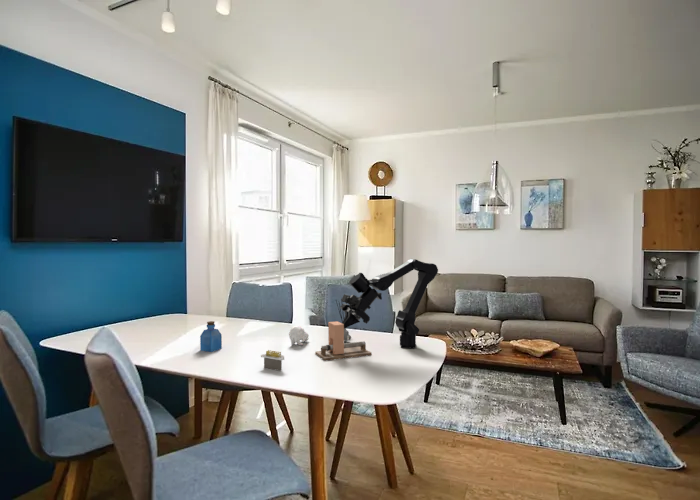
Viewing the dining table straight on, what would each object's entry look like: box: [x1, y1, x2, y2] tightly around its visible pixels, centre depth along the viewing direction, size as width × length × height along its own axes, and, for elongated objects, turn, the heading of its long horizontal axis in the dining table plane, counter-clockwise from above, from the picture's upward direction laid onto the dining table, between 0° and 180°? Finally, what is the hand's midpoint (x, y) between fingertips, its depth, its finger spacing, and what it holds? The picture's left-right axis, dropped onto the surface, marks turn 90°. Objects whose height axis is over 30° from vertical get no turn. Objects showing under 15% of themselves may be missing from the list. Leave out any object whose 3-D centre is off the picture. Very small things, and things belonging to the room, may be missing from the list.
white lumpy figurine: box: [288, 325, 309, 346], centre depth 193 cm, size 6×8×12 cm
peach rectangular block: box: [327, 320, 345, 355], centre depth 172 cm, size 4×7×12 cm, turn 24°
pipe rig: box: [314, 340, 372, 362], centre depth 174 cm, size 20×11×5 cm, turn 114°
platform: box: [260, 349, 285, 371], centre depth 155 cm, size 12×18×7 cm, turn 62°
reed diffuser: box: [335, 298, 352, 342], centre depth 197 cm, size 10×7×20 cm
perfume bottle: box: [199, 320, 223, 353], centre depth 183 cm, size 6×6×12 cm
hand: (341, 328), depth 173 cm, fingers closed, pressing on peach rectangular block
